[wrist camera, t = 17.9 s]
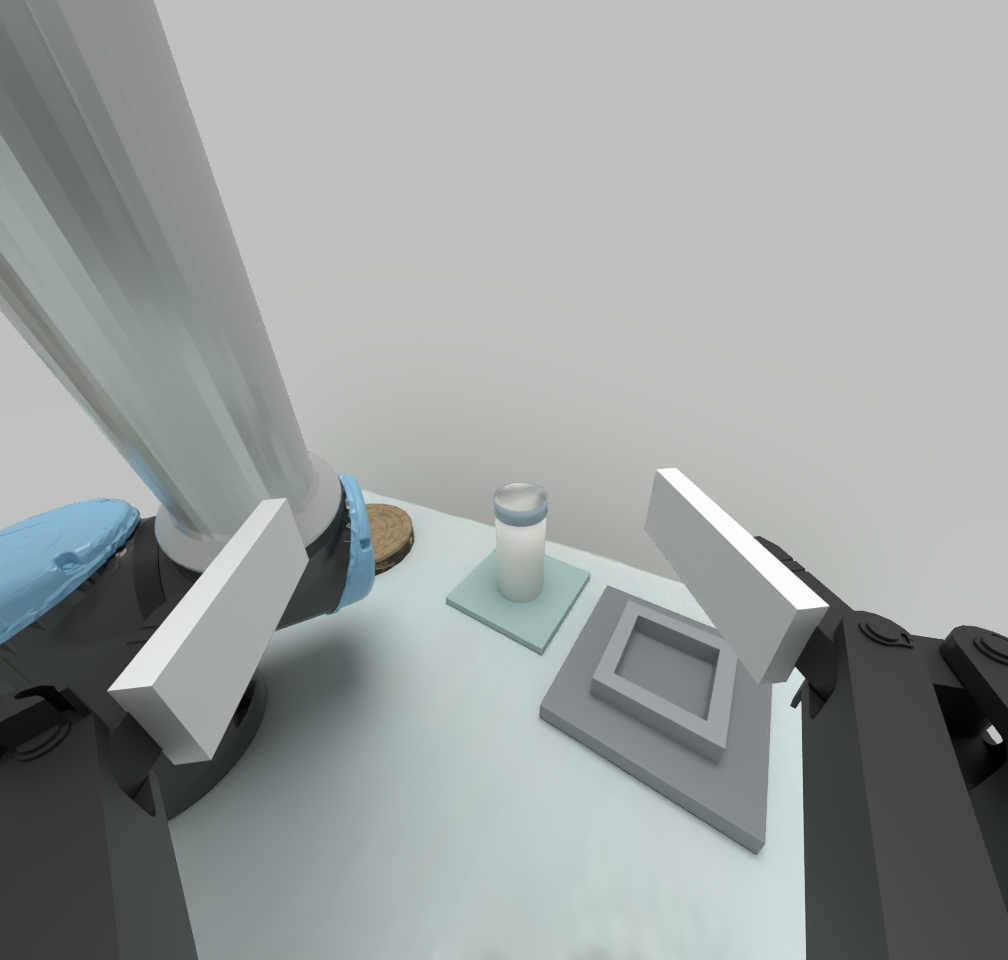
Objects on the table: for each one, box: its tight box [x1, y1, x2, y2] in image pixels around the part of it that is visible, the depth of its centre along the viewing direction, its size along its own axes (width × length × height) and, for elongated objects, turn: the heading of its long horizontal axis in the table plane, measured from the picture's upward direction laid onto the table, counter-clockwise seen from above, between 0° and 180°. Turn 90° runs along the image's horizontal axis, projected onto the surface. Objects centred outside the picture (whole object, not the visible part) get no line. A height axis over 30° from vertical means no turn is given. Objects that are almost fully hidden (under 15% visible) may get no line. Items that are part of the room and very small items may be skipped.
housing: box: [540, 585, 772, 854], centre depth 37 cm, size 18×18×4 cm
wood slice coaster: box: [365, 504, 414, 576], centre depth 59 cm, size 16×16×3 cm
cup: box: [494, 482, 548, 603], centre depth 47 cm, size 6×6×14 cm
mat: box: [446, 549, 590, 655], centre depth 50 cm, size 14×14×1 cm
